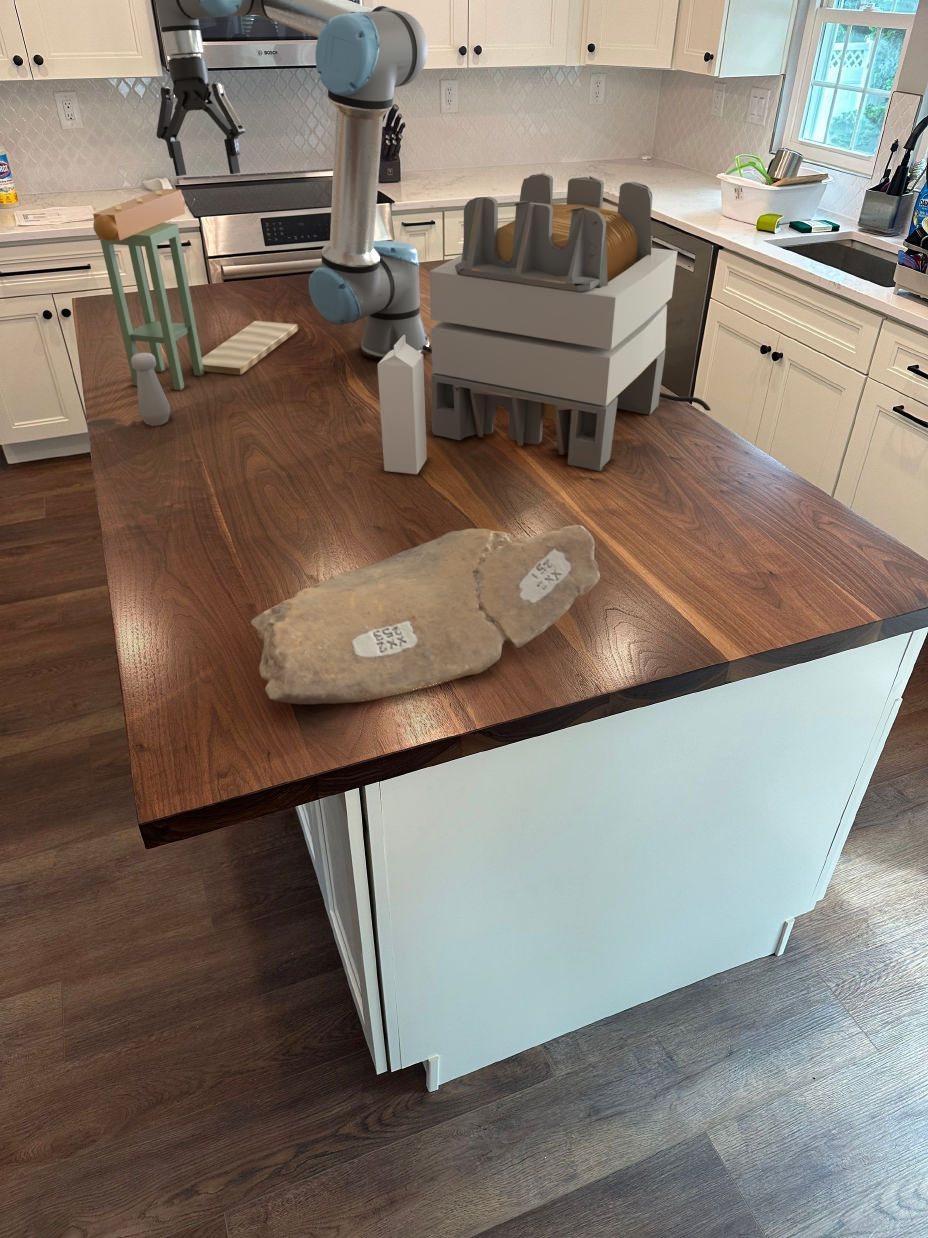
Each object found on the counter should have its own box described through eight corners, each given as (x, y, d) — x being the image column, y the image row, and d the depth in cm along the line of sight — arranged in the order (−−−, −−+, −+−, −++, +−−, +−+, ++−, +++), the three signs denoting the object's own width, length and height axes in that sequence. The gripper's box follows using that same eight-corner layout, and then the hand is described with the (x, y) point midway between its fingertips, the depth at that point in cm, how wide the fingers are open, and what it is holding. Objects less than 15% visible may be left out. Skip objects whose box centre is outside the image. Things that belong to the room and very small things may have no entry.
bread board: (240, 374, 192) (239, 368, 191) (194, 370, 194) (193, 363, 193) (298, 330, 215) (297, 324, 214) (256, 326, 217) (255, 320, 217)
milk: (384, 471, 154) (374, 344, 142) (394, 456, 159) (386, 332, 146) (418, 474, 153) (411, 347, 140) (427, 459, 158) (422, 334, 145)
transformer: (661, 406, 177) (690, 178, 153) (600, 473, 153) (624, 217, 129) (506, 376, 190) (511, 163, 166) (428, 434, 166) (421, 196, 142)
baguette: (113, 243, 162) (106, 215, 160) (91, 242, 163) (85, 214, 161) (190, 210, 184) (186, 185, 182) (171, 209, 185) (167, 184, 182)
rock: (229, 623, 121) (286, 753, 102) (211, 559, 114) (269, 685, 96) (524, 530, 135) (621, 630, 116) (523, 468, 128) (627, 563, 109)
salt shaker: (178, 418, 173) (165, 352, 166) (159, 429, 169) (144, 362, 161) (155, 413, 175) (140, 347, 168) (134, 424, 171) (118, 357, 163)
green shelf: (180, 390, 185) (150, 235, 167) (133, 385, 187) (98, 232, 170) (204, 373, 193) (177, 223, 175) (158, 368, 195) (127, 220, 177)
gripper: (249, 52, 179) (267, 170, 190) (146, 60, 187) (170, 173, 198) (228, 52, 173) (248, 174, 184) (123, 61, 182) (148, 177, 193)
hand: (208, 174), depth 191 cm, fingers open, 13 cm apart
